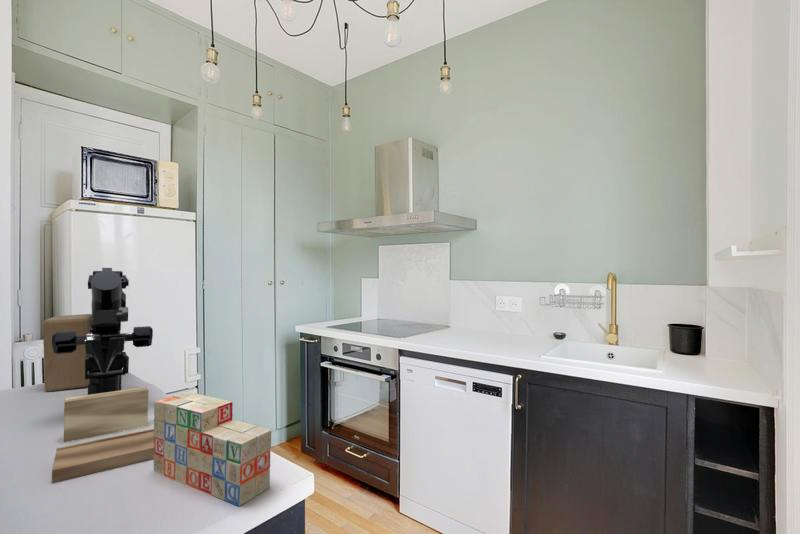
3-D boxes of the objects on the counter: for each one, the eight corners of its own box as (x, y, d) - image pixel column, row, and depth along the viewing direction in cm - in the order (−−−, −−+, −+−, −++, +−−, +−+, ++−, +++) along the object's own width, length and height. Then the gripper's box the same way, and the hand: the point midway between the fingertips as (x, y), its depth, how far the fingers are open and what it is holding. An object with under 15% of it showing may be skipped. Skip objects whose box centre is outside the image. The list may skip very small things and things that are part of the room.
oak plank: (64, 437, 80) (65, 398, 80) (146, 422, 89) (146, 386, 89) (63, 442, 78) (64, 402, 78) (147, 426, 86) (148, 390, 86)
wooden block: (43, 393, 107) (41, 320, 107) (54, 383, 116) (52, 315, 116) (89, 387, 112) (87, 317, 112) (96, 378, 121) (95, 313, 121)
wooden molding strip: (56, 459, 71) (57, 446, 71) (154, 438, 80) (154, 427, 80) (51, 482, 63) (52, 468, 63) (160, 457, 72) (160, 444, 72)
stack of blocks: (271, 487, 63) (272, 410, 63) (238, 508, 58) (240, 423, 58) (186, 456, 73) (187, 389, 73) (151, 471, 67) (153, 399, 68)
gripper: (53, 296, 86) (45, 361, 78) (153, 294, 97) (155, 351, 89) (57, 322, 93) (50, 384, 86) (150, 318, 104) (152, 372, 96)
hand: (104, 372), depth 89 cm, fingers closed
